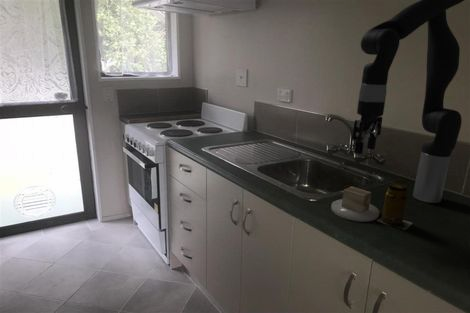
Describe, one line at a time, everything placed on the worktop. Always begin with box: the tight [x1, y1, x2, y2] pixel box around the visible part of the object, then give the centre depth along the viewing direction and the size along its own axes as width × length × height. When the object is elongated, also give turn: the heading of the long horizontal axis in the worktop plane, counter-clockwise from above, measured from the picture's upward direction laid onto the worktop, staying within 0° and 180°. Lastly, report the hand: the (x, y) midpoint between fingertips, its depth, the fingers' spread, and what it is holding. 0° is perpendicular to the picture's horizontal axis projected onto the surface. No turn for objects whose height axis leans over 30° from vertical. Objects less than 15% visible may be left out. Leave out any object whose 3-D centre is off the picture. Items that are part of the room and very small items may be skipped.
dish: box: [330, 198, 380, 223], centre depth 114 cm, size 15×15×1 cm
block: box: [342, 185, 372, 214], centre depth 113 cm, size 5×7×6 cm
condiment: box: [376, 182, 413, 231], centre depth 105 cm, size 7×8×12 cm
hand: (364, 151), depth 108 cm, fingers open, 8 cm apart
